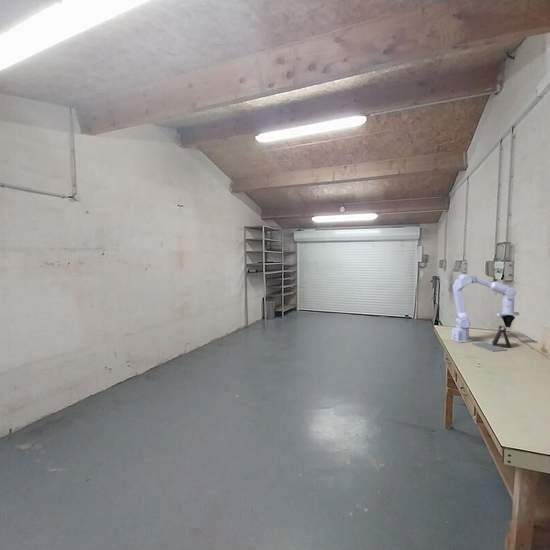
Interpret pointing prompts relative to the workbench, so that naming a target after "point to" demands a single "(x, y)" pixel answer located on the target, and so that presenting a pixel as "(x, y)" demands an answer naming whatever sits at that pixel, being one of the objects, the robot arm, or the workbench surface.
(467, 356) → the workbench surface
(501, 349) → the mat
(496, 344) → the phone stand
